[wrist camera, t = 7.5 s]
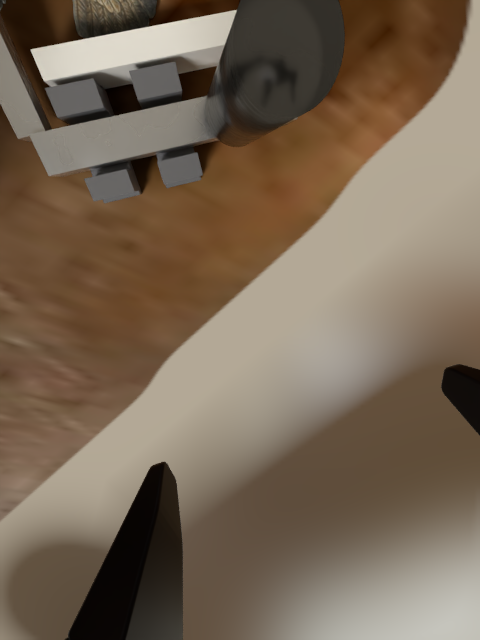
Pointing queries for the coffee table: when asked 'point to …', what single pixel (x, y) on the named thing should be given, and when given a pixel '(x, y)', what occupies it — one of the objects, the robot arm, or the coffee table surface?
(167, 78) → the cradle
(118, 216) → the coffee table surface
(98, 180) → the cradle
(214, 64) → the frame
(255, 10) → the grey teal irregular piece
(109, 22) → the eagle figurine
